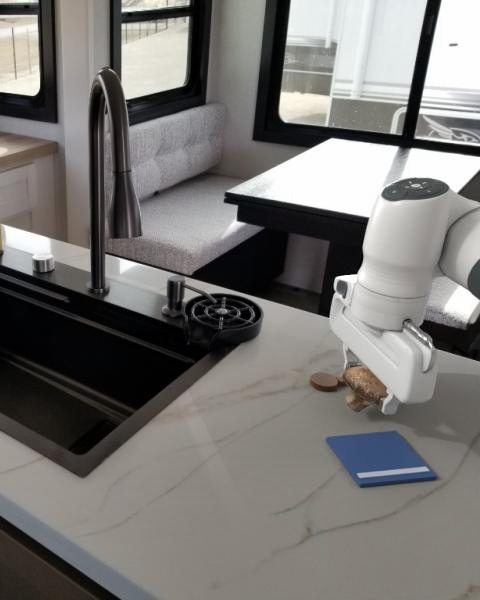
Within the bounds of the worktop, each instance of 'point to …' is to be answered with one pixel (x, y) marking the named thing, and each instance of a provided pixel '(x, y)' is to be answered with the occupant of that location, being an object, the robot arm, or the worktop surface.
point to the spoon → (326, 381)
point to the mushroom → (363, 388)
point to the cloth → (379, 459)
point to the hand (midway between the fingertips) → (367, 391)
